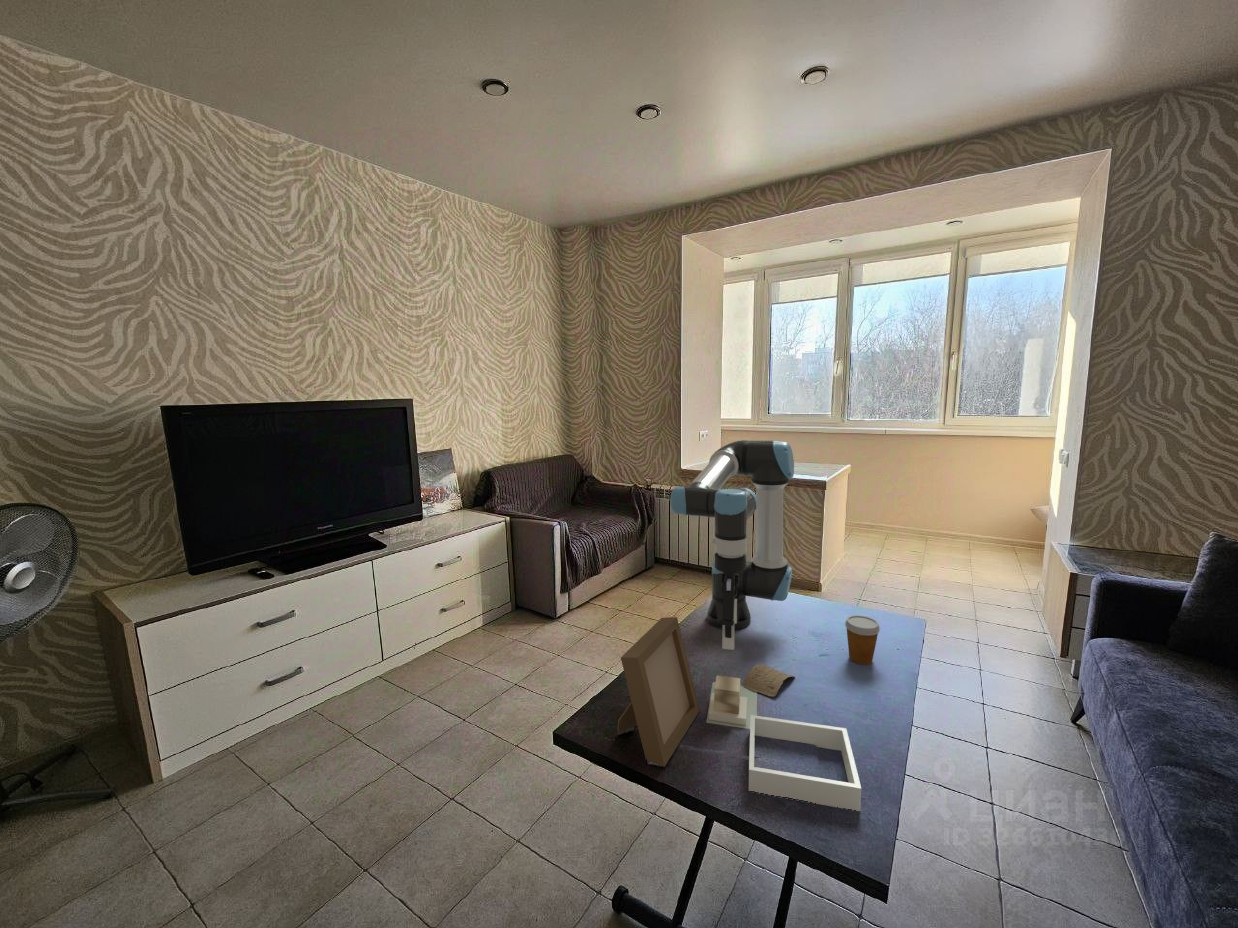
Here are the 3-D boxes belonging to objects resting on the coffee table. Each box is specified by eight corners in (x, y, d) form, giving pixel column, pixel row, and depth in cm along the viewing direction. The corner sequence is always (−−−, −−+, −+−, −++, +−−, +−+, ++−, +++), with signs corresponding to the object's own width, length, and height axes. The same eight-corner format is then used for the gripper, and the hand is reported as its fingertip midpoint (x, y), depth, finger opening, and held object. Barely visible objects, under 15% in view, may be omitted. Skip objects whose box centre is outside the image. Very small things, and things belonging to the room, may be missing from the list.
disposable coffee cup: (870, 671, 146) (872, 632, 144) (837, 658, 153) (839, 621, 152) (883, 659, 152) (885, 621, 151) (852, 647, 159) (853, 611, 158)
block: (740, 699, 131) (740, 678, 130) (738, 714, 125) (739, 691, 124) (716, 696, 132) (716, 675, 131) (714, 710, 126) (714, 688, 126)
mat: (712, 683, 142) (712, 681, 142) (757, 689, 139) (757, 687, 139) (706, 724, 125) (706, 722, 125) (756, 732, 122) (756, 729, 122)
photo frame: (699, 714, 129) (698, 621, 125) (664, 770, 110) (661, 663, 107) (647, 698, 136) (644, 610, 133) (605, 749, 117) (601, 648, 114)
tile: (712, 692, 134) (708, 713, 125) (747, 697, 132) (746, 718, 123) (712, 698, 134) (708, 719, 126) (747, 703, 132) (746, 725, 123)
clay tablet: (775, 699, 133) (775, 689, 133) (740, 685, 140) (740, 675, 139) (797, 678, 144) (797, 669, 144) (763, 666, 150) (764, 657, 150)
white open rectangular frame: (750, 733, 121) (750, 714, 120) (845, 748, 116) (846, 728, 115) (748, 791, 104) (748, 769, 103) (860, 811, 98) (861, 788, 98)
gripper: (718, 537, 136) (718, 611, 140) (709, 570, 113) (710, 659, 116) (747, 538, 134) (746, 614, 138) (744, 572, 111) (743, 662, 114)
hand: (729, 634), depth 127 cm, fingers open, 13 cm apart
